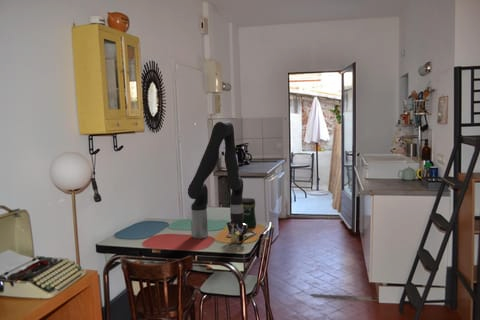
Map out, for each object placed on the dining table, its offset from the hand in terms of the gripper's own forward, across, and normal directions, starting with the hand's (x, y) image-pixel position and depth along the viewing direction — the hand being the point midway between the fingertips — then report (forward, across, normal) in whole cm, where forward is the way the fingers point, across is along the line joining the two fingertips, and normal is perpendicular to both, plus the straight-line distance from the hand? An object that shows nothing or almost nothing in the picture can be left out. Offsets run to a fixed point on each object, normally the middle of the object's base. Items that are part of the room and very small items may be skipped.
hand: (237, 240), depth 231 cm
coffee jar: (+1, -12, +29) cm, 31 cm away
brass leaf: (+1, 0, 0) cm, 1 cm away
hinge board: (+1, -5, +11) cm, 12 cm away
